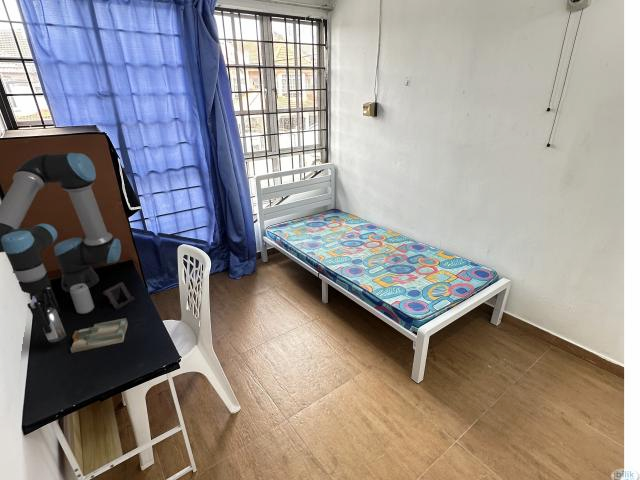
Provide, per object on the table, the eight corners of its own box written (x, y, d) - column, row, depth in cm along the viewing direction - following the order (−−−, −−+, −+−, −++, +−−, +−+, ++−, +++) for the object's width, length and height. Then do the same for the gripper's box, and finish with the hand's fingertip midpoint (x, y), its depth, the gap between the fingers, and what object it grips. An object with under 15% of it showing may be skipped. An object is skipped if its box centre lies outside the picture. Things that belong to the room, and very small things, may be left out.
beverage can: (86, 315, 140) (77, 291, 135) (73, 313, 141) (64, 289, 137) (98, 307, 146) (90, 283, 141) (85, 305, 147) (78, 282, 142)
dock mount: (80, 332, 129) (78, 325, 128) (127, 323, 135) (125, 316, 133) (71, 352, 119) (68, 345, 118) (123, 341, 124) (120, 334, 123)
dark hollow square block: (117, 310, 143) (112, 294, 140) (105, 306, 146) (100, 290, 143) (135, 300, 151) (130, 284, 148) (122, 296, 154) (118, 280, 150)
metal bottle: (51, 334, 120) (39, 306, 115) (67, 331, 122) (56, 303, 117) (46, 343, 116) (34, 315, 111) (63, 340, 118) (52, 311, 113)
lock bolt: (77, 335, 125) (75, 330, 124) (92, 332, 127) (90, 327, 126) (74, 341, 122) (72, 336, 121) (89, 338, 124) (88, 333, 123)
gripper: (29, 266, 115) (51, 320, 125) (5, 293, 100) (33, 353, 109) (55, 263, 118) (75, 316, 127) (36, 288, 102) (60, 347, 112)
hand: (55, 333), depth 118 cm, fingers closed on metal bottle, 5 cm apart
